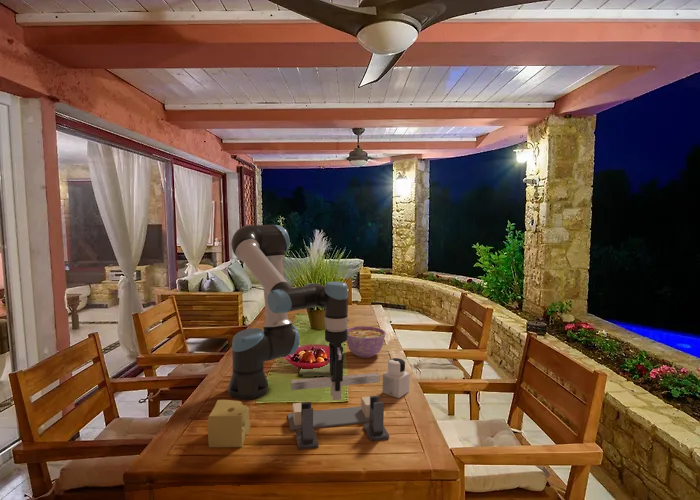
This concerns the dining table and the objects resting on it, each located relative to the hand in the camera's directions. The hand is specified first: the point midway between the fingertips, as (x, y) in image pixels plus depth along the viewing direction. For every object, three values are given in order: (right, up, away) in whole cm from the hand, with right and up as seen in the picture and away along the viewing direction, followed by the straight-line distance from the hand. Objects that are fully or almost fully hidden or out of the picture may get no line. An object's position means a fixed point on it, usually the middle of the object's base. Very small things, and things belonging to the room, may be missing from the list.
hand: (335, 397), depth 133 cm
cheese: (-32, -8, -12) cm, 35 cm away
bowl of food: (+12, -2, +62) cm, 63 cm away
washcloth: (-8, -4, +41) cm, 42 cm away
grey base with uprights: (0, -7, +1) cm, 8 cm away
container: (+23, -6, +21) cm, 32 cm away
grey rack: (+2, -9, -10) cm, 14 cm away
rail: (0, +4, 0) cm, 4 cm away
